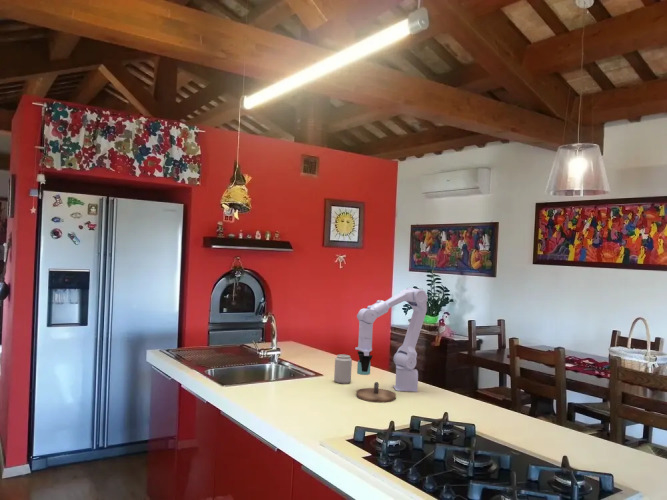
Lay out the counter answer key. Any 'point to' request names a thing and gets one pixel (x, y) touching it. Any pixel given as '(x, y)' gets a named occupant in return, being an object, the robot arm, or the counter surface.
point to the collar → (359, 369)
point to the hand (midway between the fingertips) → (363, 369)
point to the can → (343, 369)
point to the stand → (375, 394)
